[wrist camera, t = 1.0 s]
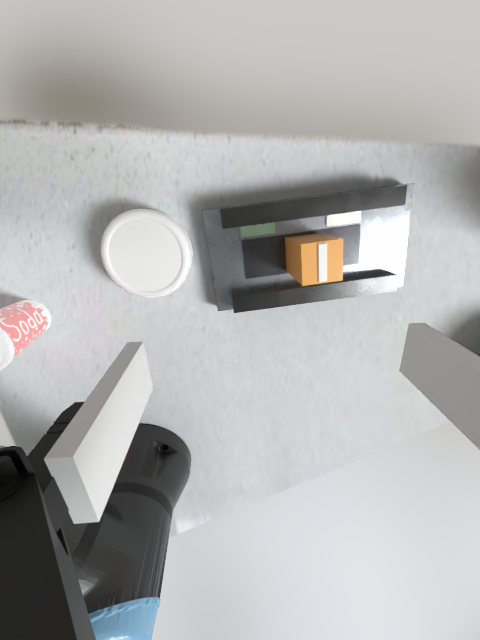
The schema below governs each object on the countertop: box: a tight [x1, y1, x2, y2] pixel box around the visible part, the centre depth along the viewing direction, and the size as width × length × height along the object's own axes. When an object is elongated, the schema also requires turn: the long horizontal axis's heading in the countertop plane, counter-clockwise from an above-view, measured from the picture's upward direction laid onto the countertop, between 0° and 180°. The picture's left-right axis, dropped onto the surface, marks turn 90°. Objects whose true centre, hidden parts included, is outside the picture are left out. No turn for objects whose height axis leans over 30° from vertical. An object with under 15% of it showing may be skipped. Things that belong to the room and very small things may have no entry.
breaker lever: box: [285, 233, 343, 286], centre depth 30 cm, size 4×4×7 cm
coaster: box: [101, 209, 193, 298], centre depth 33 cm, size 10×10×4 cm
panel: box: [202, 183, 414, 313], centre depth 33 cm, size 24×12×4 cm, turn 97°
